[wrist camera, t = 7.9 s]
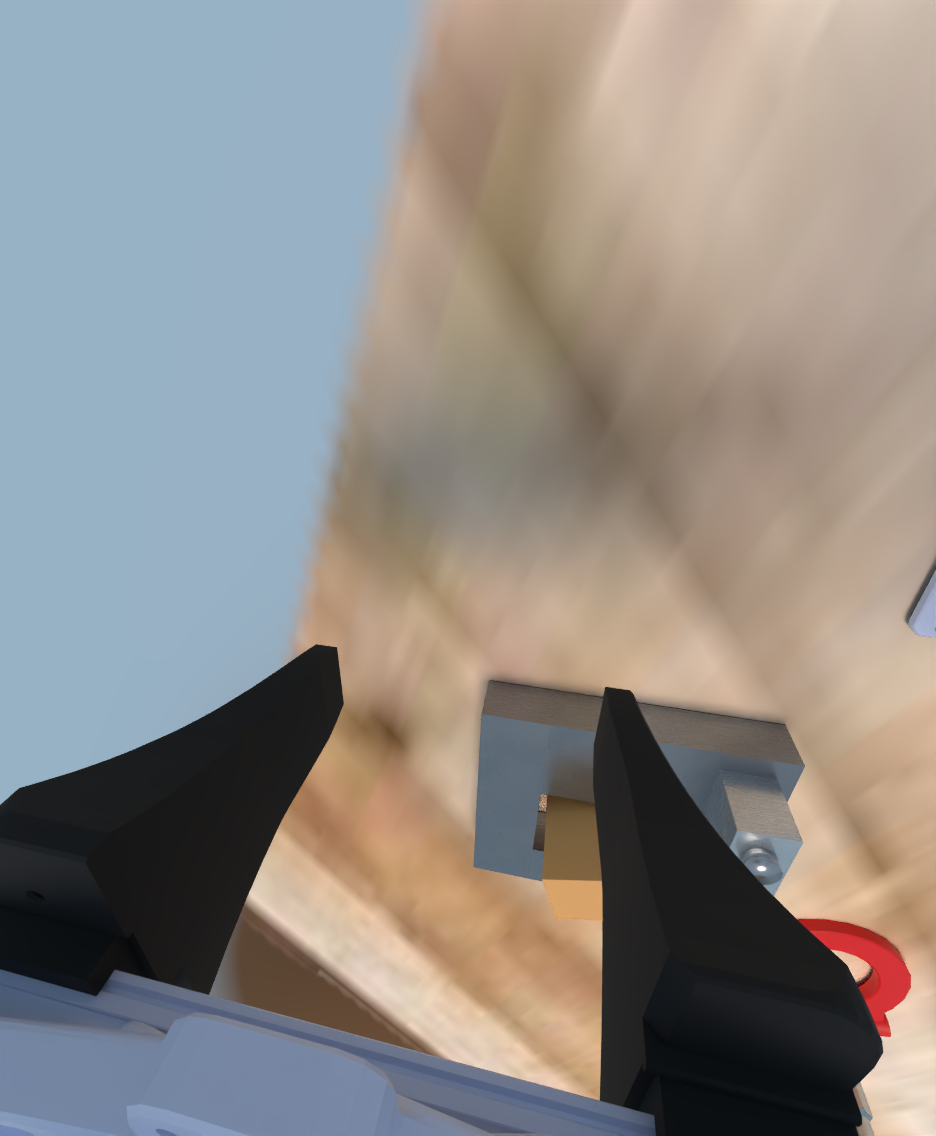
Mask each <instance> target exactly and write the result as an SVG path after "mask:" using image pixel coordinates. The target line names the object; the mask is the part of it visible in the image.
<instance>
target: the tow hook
mask: <svg viewBox="0 0 936 1136" xmlns="http://www.w3.org/2000/svg"><path fill="white" fill-rule="evenodd" d="M798 921H799V922H800V923H801V924H802V925H803V926H805V927H806V928H807V929H808V930H809V931H810V932H811V933H812V934H813V935H814V936H816V937H817V938H818V939H819V940H820V941H821V942H822V943H823V944H824V945H825V946H827V947H828V948H829V949H831V950H837V951H843V952H846V953H849V954H852V955H855V956H857V957H859V958H861V959H862V960H864V961H866V962H867V963H868V964H869V965H871V966H872V967H873V973H872V975H871V977H870V979H869V980H868V981H866V982H865V983H864V984H863V985H861V986H859V989H860V991H861V993H862V995H863V997H864V999H865V1001H866V1004H867V1006H868V1008H869V1010H870V1012H871V1015H872V1017H873V1020H874V1022H875V1025H876V1027H877V1030H878V1032H879V1035H880V1036H885V1037H891V1032H890V1026H889V1023H888V1020H887V1017H886V1015H885V1012H887V1011H889V1010H891V1009H893V1008H894V1007H895V1006H897V1005H898V1004H899V1003H900V1002H902V1001H903V1000H904V999H905V997H906V995H907V993H908V992H909V990H910V988H911V975H910V973H909V971H908V969H907V967H906V965H905V963H904V961H903V959H902V957H901V955H900V953H899V951H898V950H897V949H896V948H895V947H894V946H893V945H891V944H890V943H889V942H888V941H887V940H886V939H884V938H883V937H881V936H879V935H877V934H875V933H873V932H872V931H870V930H868V929H864V928H861V927H858V926H855V925H852V924H849V923H843V922H837V921H830V920H821V919H799V920H798ZM853 1092H854V1095H855V1098H856V1100H857V1103H858V1106H859V1109H860V1112H861V1115H862V1125H861V1126H860V1127H857V1126H856V1128H857V1131H858V1134H859V1136H875V1135H874V1132H873V1129H872V1127H871V1124H870V1121H871V1120H872V1113H871V1110H870V1107H869V1105H868V1102H867V1099H866V1097H865V1094H864V1091H863V1088H862V1086H861V1083H860V1082H859V1083H858V1084H857V1085H856V1086H855V1087H854V1088H853Z"/></svg>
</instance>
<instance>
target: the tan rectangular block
mask: <svg viewBox="0 0 936 1136" xmlns="http://www.w3.org/2000/svg"><path fill="white" fill-rule="evenodd" d="M542 881H543V884H544V887H545V890H546V893H547V896H548V899H549V902H550V905H551V908H552V911H553V915H554V918H555V919H575V920H596V921H603V919H602V876H601V864H600V853H599V843H598V833H597V822H596V812H595V803H591V802H585V801H580V800H574V799H569V798H563V797H558V796H552V795H547V809H546V824H545V840H544V856H543V871H542Z"/></svg>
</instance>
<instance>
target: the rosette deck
mask: <svg viewBox="0 0 936 1136" xmlns="http://www.w3.org/2000/svg"><path fill="white" fill-rule="evenodd" d="M602 701H603V698H602V697H595V696H588V695H582V694H575V693H569V692H562V691H555V690H549V689H542V688H535V687H529V686H522V685H515V684H509V683H502V682H495V681H489V685H488V690H487V694H486V698H485V702H484V707H483V711H482V718H481V737H480V755H479V774H478V793H477V812H476V830H475V849H474V867H476V868H481V869H486V870H490V871H495V872H500V873H505V874H510V875H514V876H519V877H524V878H529V879H533V880H538V881H542V871H543V856H544V840H545V824H546V813H544V812H539V811H538V808H539V801H540V794H547V795H552V796H558V797H563V798H569V799H574V800H580V801H585V802H591V803H595V801H594V790H593V751H594V741H595V736H596V731H597V726H598V721H599V716H600V711H601V706H602ZM638 706H639V708H640V710H641V712H642V714H643V716H644V718H645V720H646V722H647V724H648V726H649V728H650V730H651V732H652V734H653V736H654V738H655V739H656V741H657V743H658V745H659V746H660V748H661V750H662V752H663V753H664V755H665V757H666V759H667V760H668V762H669V764H670V765H671V767H672V769H673V770H674V772H675V773H676V775H677V777H678V778H679V780H680V781H681V783H682V784H683V786H684V787H685V789H686V790H687V792H688V793H689V795H690V796H691V798H692V799H693V801H694V802H695V803H696V805H697V806H698V808H699V809H700V810H701V812H702V813H703V815H704V816H705V817H706V818H707V820H708V821H709V822H710V824H711V825H712V826H713V828H714V829H715V830H716V832H717V833H718V834H719V835H720V836H721V838H722V839H723V840H724V841H725V843H726V844H727V845H728V846H729V848H730V849H731V850H732V851H733V852H734V854H735V855H736V856H737V857H738V858H739V859H740V860H741V861H742V862H743V864H744V865H745V866H746V867H747V868H748V869H749V870H750V871H751V872H752V874H753V875H754V876H755V877H756V878H757V879H758V880H759V881H760V882H761V884H762V885H763V886H764V887H765V888H766V889H767V890H768V891H769V892H770V893H771V894H772V895H773V896H774V895H775V893H776V891H777V889H778V887H779V886H780V884H781V882H782V880H783V878H784V876H785V875H786V873H787V871H788V869H789V867H790V866H791V864H792V862H793V860H794V858H795V856H796V855H797V853H798V851H799V849H800V847H801V845H802V844H803V841H802V838H801V836H800V833H799V831H798V828H797V826H796V824H795V821H794V819H793V816H792V814H791V811H790V809H789V806H788V804H787V802H788V800H789V798H790V796H791V793H792V791H793V789H794V787H795V785H796V783H797V781H798V779H799V777H800V775H801V773H802V771H803V769H804V767H805V765H804V763H803V761H802V759H801V757H800V755H799V753H798V750H797V748H796V746H795V744H794V742H793V740H792V738H791V736H790V734H789V731H788V729H787V727H786V725H781V724H775V723H768V722H761V721H755V720H748V719H741V718H735V717H728V716H721V715H715V714H708V713H702V712H695V711H688V710H682V709H675V708H668V707H662V706H655V705H648V704H642V703H638Z"/></svg>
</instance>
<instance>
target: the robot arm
mask: <svg viewBox="0 0 936 1136" xmlns="http://www.w3.org/2000/svg"><path fill="white" fill-rule="evenodd" d="M908 625H909V627H910V629H911V630H912V631H913V632H915V633H916V634H917V635H920V636H925V637H933V638H936V628H935V627H936V570H935V572H934V574H933V576H932V578H931V580H930V582H929V584H928V585H927V587H926V589H925V591H924V593H923V595H922V597H921V599H920V601H919V602H918V604H917V606H916V608H915V610H914V612H913V614H912V616H911V617H910V619H909V623H908ZM343 704H344V702H343V694H342V685H341V677H340V668H339V660H338V652H337V647H331V646H324V645H317V644H316V645H315V646H313V647H312V648H310V649H308V650H307V651H305V652H304V653H302V654H301V655H300V656H298V657H297V658H295V659H294V660H292V661H291V662H289V663H288V664H287V665H285V666H284V667H282V668H281V669H279V670H278V671H276V672H275V673H273V674H272V675H270V676H269V677H268V678H266V679H264V680H263V681H261V682H260V683H258V684H257V685H256V686H254V687H252V688H251V689H249V690H248V691H246V692H244V693H243V694H241V695H239V696H238V697H236V698H235V699H233V700H231V701H230V702H228V703H227V704H225V705H223V706H221V707H220V708H218V709H216V710H215V711H213V712H211V713H209V714H207V715H206V716H204V717H202V718H200V719H198V720H196V721H194V722H192V723H191V724H188V725H187V726H185V727H183V728H181V729H179V730H177V731H175V732H172V733H170V734H168V735H166V736H163V737H161V738H159V739H157V740H154V741H152V742H150V743H148V744H145V745H143V746H141V747H139V748H136V749H134V750H132V751H129V752H127V753H124V754H122V755H119V756H116V757H114V758H111V759H109V760H106V761H103V762H100V763H98V764H95V765H92V766H89V767H86V768H84V769H81V770H78V771H75V772H72V773H68V774H65V775H62V776H59V777H55V778H52V779H49V780H45V781H42V782H39V783H36V784H32V785H29V786H25V787H22V788H19V789H18V790H17V791H15V792H14V793H13V794H12V795H11V796H10V797H9V798H8V799H7V800H5V801H4V802H3V803H2V804H1V805H0V1136H859V1134H858V1131H857V1128H856V1126H857V1127H860V1126H861V1125H862V1115H861V1112H860V1109H859V1106H858V1103H857V1100H856V1098H855V1095H854V1092H853V1088H854V1087H855V1086H856V1085H857V1084H858V1083H859V1082H860V1081H861V1080H862V1079H863V1078H864V1077H865V1076H866V1075H867V1074H868V1073H869V1072H870V1071H871V1070H872V1069H873V1068H874V1067H875V1065H876V1064H877V1062H878V1060H879V1059H880V1057H881V1055H882V1054H883V1046H882V1039H881V1037H880V1035H879V1032H878V1030H877V1027H876V1025H875V1022H874V1020H873V1017H872V1015H871V1012H870V1010H869V1008H868V1006H867V1004H866V1001H865V999H864V997H863V995H862V993H861V991H860V989H859V987H858V985H857V983H856V982H855V980H854V978H853V976H852V974H851V972H850V970H849V968H848V966H847V965H846V964H845V963H844V962H843V961H842V960H841V959H840V958H839V957H838V956H836V955H835V954H834V953H833V952H832V951H831V950H830V949H829V948H828V947H827V946H825V945H824V944H823V943H822V942H821V941H820V940H819V939H818V938H817V937H816V936H814V935H813V934H812V933H811V932H810V931H809V930H808V929H807V928H806V927H805V926H803V925H802V924H801V923H800V922H799V921H798V920H797V919H796V918H795V917H794V916H793V915H792V914H791V913H790V912H789V911H788V910H787V909H786V908H785V907H784V906H783V905H782V904H781V903H780V902H779V901H778V900H777V899H776V898H775V897H774V896H773V895H772V894H771V893H770V892H769V891H768V890H767V889H766V888H765V887H764V886H763V885H762V884H761V882H760V881H759V880H758V879H757V878H756V877H755V876H754V875H753V874H752V872H751V871H750V870H749V869H748V868H747V867H746V866H745V865H744V864H743V862H742V861H741V860H740V859H739V858H738V857H737V856H736V855H735V854H734V852H733V851H732V850H731V849H730V848H729V846H728V845H727V844H726V843H725V841H724V840H723V839H722V838H721V836H720V835H719V834H718V833H717V832H716V830H715V829H714V828H713V826H712V825H711V824H710V822H709V821H708V820H707V818H706V817H705V816H704V815H703V813H702V812H701V810H700V809H699V808H698V806H697V805H696V803H695V802H694V801H693V799H692V798H691V796H690V795H689V793H688V792H687V790H686V789H685V787H684V786H683V784H682V783H681V781H680V780H679V778H678V777H677V775H676V773H675V772H674V770H673V769H672V767H671V765H670V764H669V762H668V760H667V759H666V757H665V755H664V753H663V752H662V750H661V748H660V746H659V745H658V743H657V741H656V739H655V738H654V736H653V734H652V732H651V730H650V728H649V726H648V724H647V722H646V720H645V718H644V716H643V714H642V712H641V710H640V708H639V706H638V703H637V701H636V699H635V696H634V694H633V693H632V692H631V691H630V690H623V689H616V688H609V687H605V691H604V696H603V701H602V706H601V711H600V716H599V721H598V726H597V731H596V736H595V741H594V751H593V790H594V801H595V812H596V822H597V833H598V843H599V853H600V864H601V876H602V919H603V949H602V1039H601V1080H600V1101H599V1100H595V1099H591V1098H588V1097H584V1096H580V1095H577V1094H573V1093H569V1092H566V1091H562V1090H558V1089H554V1088H551V1087H547V1086H543V1085H540V1084H536V1083H532V1082H529V1081H525V1080H521V1079H517V1078H514V1077H510V1076H506V1075H503V1074H499V1073H495V1072H492V1071H488V1070H484V1069H480V1068H477V1067H473V1066H469V1065H466V1064H462V1063H458V1062H455V1061H451V1060H447V1059H444V1058H440V1057H436V1056H432V1055H429V1054H425V1053H421V1052H418V1051H414V1050H410V1049H407V1048H402V1047H399V1046H395V1045H392V1044H388V1043H384V1042H380V1041H377V1040H373V1039H370V1038H366V1037H362V1036H358V1035H355V1034H351V1033H347V1032H344V1031H340V1030H336V1029H333V1028H329V1027H325V1026H321V1025H318V1024H314V1023H310V1022H307V1021H303V1020H299V1019H296V1018H292V1017H288V1016H284V1015H281V1014H277V1013H273V1012H270V1011H266V1010H262V1009H258V1008H255V1007H251V1006H247V1005H244V1004H240V1003H236V1002H232V1001H229V1000H225V999H221V998H218V997H214V996H210V995H209V993H210V991H211V988H212V985H213V982H214V980H215V977H216V975H217V972H218V969H219V967H220V964H221V961H222V959H223V956H224V953H225V951H226V948H227V945H228V942H229V940H230V938H231V935H232V933H233V930H234V928H235V925H236V923H237V921H238V918H239V916H240V913H241V911H242V908H243V906H244V903H245V901H246V898H247V896H248V894H249V891H250V889H251V887H252V885H253V882H254V880H255V878H256V875H257V873H258V871H259V868H260V866H261V864H262V861H263V859H264V857H265V855H266V853H267V851H268V848H269V846H270V844H271V842H272V840H273V838H274V835H275V833H276V831H277V829H278V827H279V825H280V823H281V821H282V819H283V817H284V815H285V813H286V812H287V810H288V808H289V806H290V805H291V803H292V801H293V799H294V798H295V796H296V794H297V793H298V791H299V789H300V787H301V786H302V784H303V782H304V781H305V779H306V777H307V776H308V774H309V772H310V770H311V769H312V767H313V765H314V764H315V762H316V760H317V758H318V757H319V755H320V753H321V752H322V750H323V748H324V746H325V745H326V743H327V741H328V739H329V737H330V735H331V733H332V731H333V728H334V726H335V724H336V722H337V719H338V717H339V714H340V712H341V709H342V707H343Z"/></svg>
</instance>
